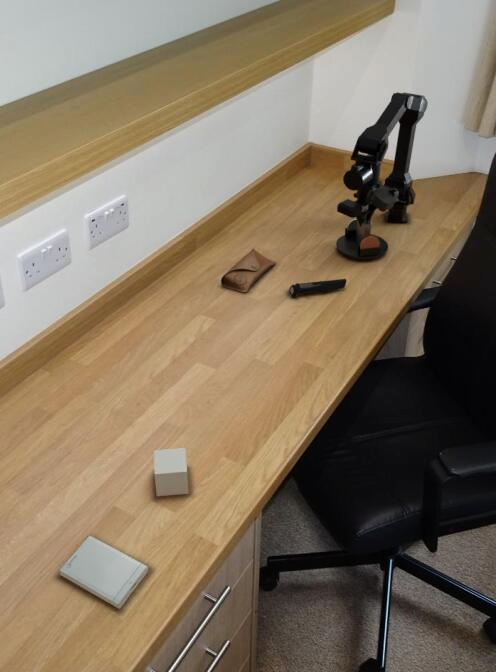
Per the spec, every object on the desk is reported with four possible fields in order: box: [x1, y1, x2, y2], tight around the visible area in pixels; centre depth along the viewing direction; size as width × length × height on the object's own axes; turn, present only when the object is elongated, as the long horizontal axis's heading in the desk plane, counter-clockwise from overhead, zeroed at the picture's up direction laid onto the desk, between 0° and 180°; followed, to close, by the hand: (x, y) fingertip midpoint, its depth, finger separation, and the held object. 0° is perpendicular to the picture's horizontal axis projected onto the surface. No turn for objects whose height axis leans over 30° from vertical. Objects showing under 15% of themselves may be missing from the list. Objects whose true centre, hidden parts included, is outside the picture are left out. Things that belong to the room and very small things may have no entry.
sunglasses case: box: [220, 247, 276, 293], centre depth 196 cm, size 18×7×7 cm
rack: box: [335, 217, 389, 260], centre depth 204 cm, size 15×15×9 cm
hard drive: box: [59, 535, 149, 610], centre depth 118 cm, size 2×8×12 cm
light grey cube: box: [153, 447, 189, 497], centre depth 133 cm, size 6×6×6 cm
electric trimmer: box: [288, 278, 347, 298], centre depth 188 cm, size 4×16×3 cm, turn 100°
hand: (363, 227), depth 203 cm, fingers closed on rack
